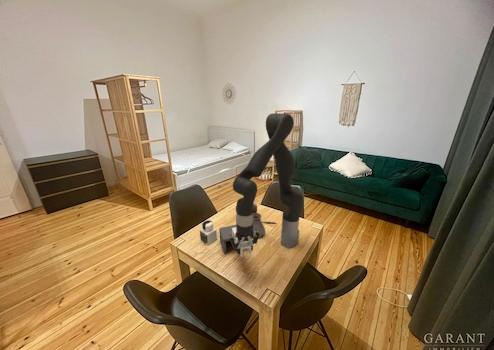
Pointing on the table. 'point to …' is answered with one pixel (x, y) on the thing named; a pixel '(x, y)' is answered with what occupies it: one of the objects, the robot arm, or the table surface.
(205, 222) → the medicine bottle
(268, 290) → the table surface
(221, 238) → the shelf
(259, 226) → the coffee pot
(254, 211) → the wooden sphere
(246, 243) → the long white plank
